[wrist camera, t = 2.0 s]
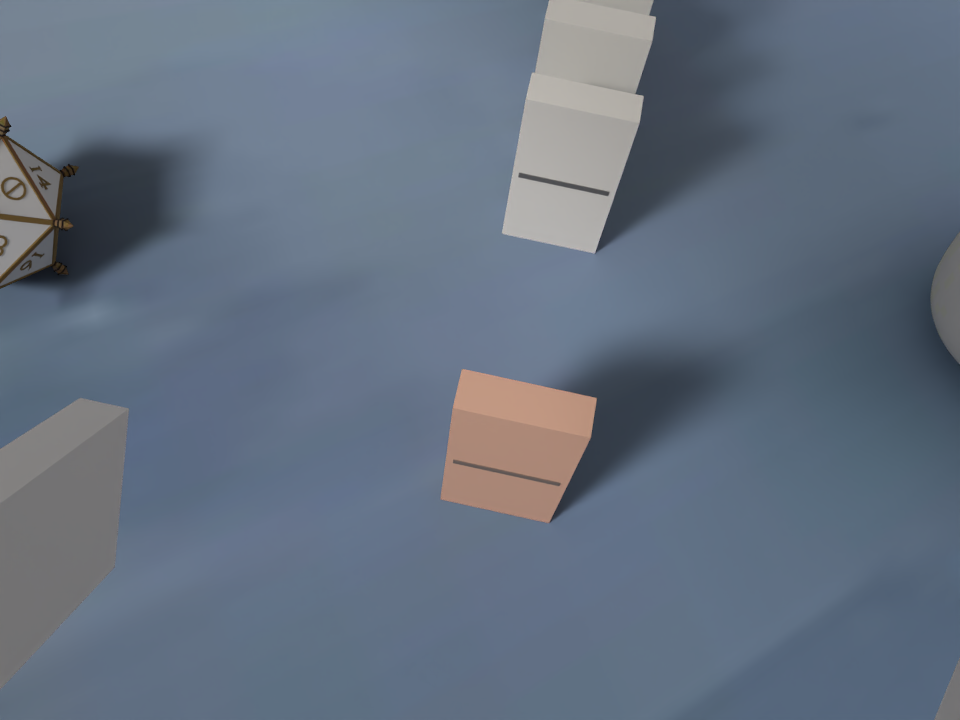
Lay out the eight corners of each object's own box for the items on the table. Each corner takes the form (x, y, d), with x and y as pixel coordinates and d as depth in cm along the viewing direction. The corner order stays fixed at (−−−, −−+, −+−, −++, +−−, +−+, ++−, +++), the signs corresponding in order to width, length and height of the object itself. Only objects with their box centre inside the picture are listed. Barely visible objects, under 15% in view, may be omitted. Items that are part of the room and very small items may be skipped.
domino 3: (548, 524, 41) (590, 439, 33) (440, 500, 42) (452, 409, 33) (554, 489, 42) (597, 396, 33) (448, 465, 42) (462, 367, 34)
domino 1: (607, 180, 51) (652, 42, 42) (518, 161, 51) (544, 19, 42) (611, 157, 52) (656, 16, 43) (523, 138, 52) (550, -6, 43)
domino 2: (594, 254, 48) (639, 124, 40) (501, 234, 49) (525, 99, 40) (599, 228, 49) (643, 95, 40) (507, 209, 49) (532, 71, 41)
